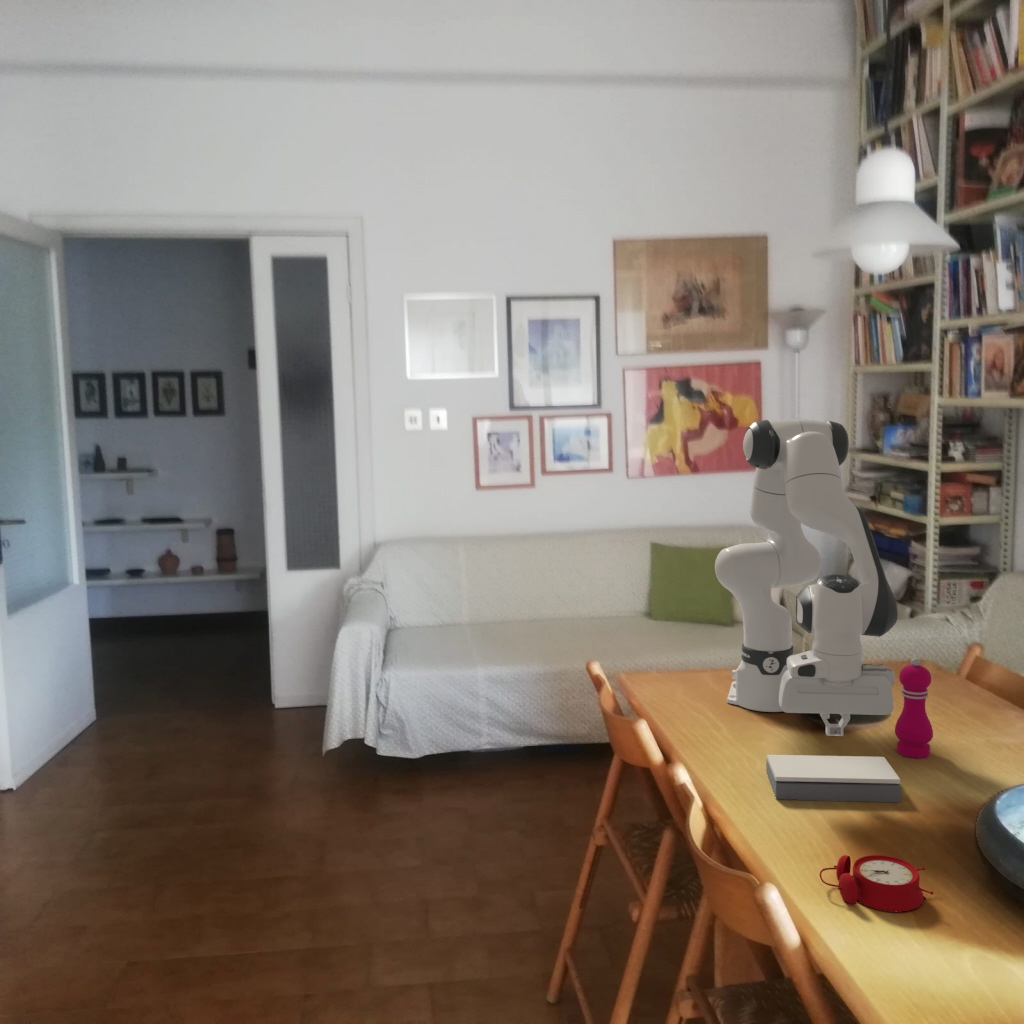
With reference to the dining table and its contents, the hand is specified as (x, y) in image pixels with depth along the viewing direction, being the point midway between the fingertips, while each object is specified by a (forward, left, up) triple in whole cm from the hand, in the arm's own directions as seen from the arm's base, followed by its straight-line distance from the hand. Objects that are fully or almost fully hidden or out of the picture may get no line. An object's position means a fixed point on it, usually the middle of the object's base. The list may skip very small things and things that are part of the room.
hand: (834, 734), depth 178 cm
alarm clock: (+38, -2, -11) cm, 40 cm away
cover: (0, 0, -7) cm, 7 cm away
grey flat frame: (0, 0, -10) cm, 10 cm away
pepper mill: (-18, +20, -11) cm, 29 cm away
